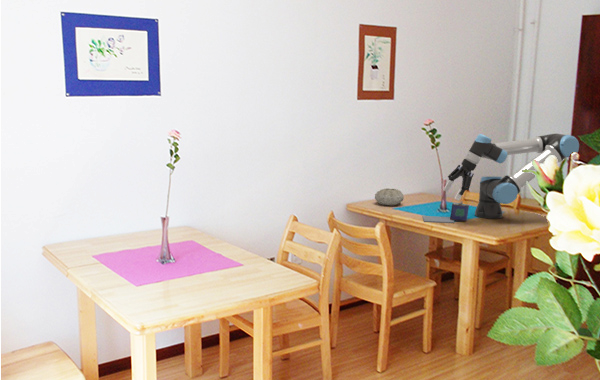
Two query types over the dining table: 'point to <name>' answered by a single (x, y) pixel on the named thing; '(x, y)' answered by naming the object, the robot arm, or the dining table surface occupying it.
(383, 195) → the cratered grey rock
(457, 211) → the flask
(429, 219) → the mat
